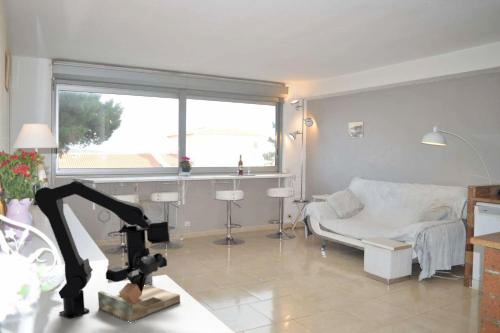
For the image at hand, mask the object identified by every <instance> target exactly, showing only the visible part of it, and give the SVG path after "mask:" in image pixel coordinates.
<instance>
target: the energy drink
mask: <svg viewBox="0 0 500 333" xmlns="http://www.w3.org/2000/svg"><path fill="white" fill-rule="evenodd" d="M149 253H150V255H152V252H151V250H150V249H149ZM150 284H151V285H152V284H153V272H152V273H151V274H149V275H148V276H147V278H146V281H145V284H144V285H150Z"/></svg>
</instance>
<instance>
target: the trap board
mask: <svg viewBox="0 0 500 333" xmlns="http://www.w3.org/2000/svg"><path fill="white" fill-rule="evenodd" d="M97 298H98V310H100V311H102V312H104V313H107V314H108V315H111V316H113V315H114V317H116V318H118V317H119V318H118V319H120V318H122V319H124V320H126V321H125V322H127V321H129V322H132V321H134V322H136V321H139V320H141V319H144V318H146V317H149V316H151V315H153V314H155V313H157V312H161V311H163V310H165V309H167V308H170V307H172V306H175V305H177V304H180V303H181V295H180V294H178V293H175V292H172V291H170V290H165V289H163V288H160V287H157V286H154V285H152V284H151V285H145V286H144V287H143V291H142V295H141V296H140V297H139V298H138V300H137V301H136V302H135V303H134V304H132V303H131V302H128V301H126V300H123V298H122V297H121V295H120V293H118V294H116V295H112V294H110V293H108V292H105V291H102V290H100V291H97ZM143 317H144V318H143ZM122 319H121V320H122ZM124 320H123V321H124ZM135 320H136V321H135ZM129 322H128V323H129ZM132 323H133V322H132Z"/></svg>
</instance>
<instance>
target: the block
mask: <svg viewBox="0 0 500 333" xmlns="http://www.w3.org/2000/svg"><path fill="white" fill-rule="evenodd" d="M118 294H120V295H121V297H122V298H123V300H126V301H128V302H131V303H132V304H134V303H135V302H136V301H137V300H138V298H139V297H140V296H141V295H142V293H141V291H140V289H139V288H138V286H137V285H136V284H131V282H127V283H126V284H125V285H124V287H123V288H121V290H120V291H119V292H118Z"/></svg>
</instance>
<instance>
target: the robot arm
mask: <svg viewBox="0 0 500 333" xmlns="http://www.w3.org/2000/svg"><path fill="white" fill-rule="evenodd" d="M73 195H76V196H79V197H81V198H83V199H84V200H87V201H89V202H91V203H93V204H96V205H98V206H99V207H102V208H104V209H106V210H108V211H110V212H112V213H113V214H114V215H116V216H117V218H119V219H120V220H122V221H123V222H125V223H124V224H123V225H122V227H121V228H120V229H119V231H118V233H119V234H123V233H125V239H126V240H125V242H126V243H125V244H126V248H124V253H126V257H127V259H126V260H127V261H125V266H127V267H120V266H115V267H112V268H109V269H107V270H106V272H105V279H106V280H109V281H111V282H114V283H119V282H121V281H125V280H128V281H129V283H131V284H136V285H137V286H138V288H139V289H140V291H141V293H142V291H143V287H144V284H145V281H146V278H147V276H148V275H149V274H151V273H152V274H153V273H154V272H155V273H156V272H158V271H159V270H158V269H159V268H164V267H167V266H168V261H167V259H166V257H165V256H163V253H161V252H158V253H155V254H151V255H150V253H149V250H150V249H149V248H150V247H147V242H149V243H151V245H156V244H157V245H158V244H167V243H170V242H171V241H170V240H171V239H170V238H171V237H170V229H169V221H168V220H161V221H154V222H152V221H151V219H150V218H148V216H147V215H146V214H145V209H144V207H143V206H142V205H140V204H138V203H135V202H131V201H127V200H122V199H119V198H118V197H114V196H112V195H110V194H108V193H105V192H104V191H102V190H100V189H98V188H96V187H93V186H91V185H90V184H88V183H85V182H84V181H83V180H81V179H77V180H74V181H72V182H70V183H66V184H63V185H60V186H55V185H46V186H43V187H41V188H39V189H37V190H36V192H35V194H34V196H33V197H34V202H35V203H36V205H37V207H38V208H39V210H40V212H41V213H43V215H45V217H46V218H47V219H48V223H49V224H50V227H51V230H52V233H53V235H54V238H55V242H56V243H57V246H58V248H59V251H60V254H61V257H62V259H63V262H64V276H65V281H66V283H64V285H63V286H62V287H61V289H60V290H59V291H58V294H59V295H58V296H59V297H60V298H61V299H62V302H63V305H62V306H63V310H60V311H59V315H60V316H63V317H64V318H66V319H69V320H70V319H72V318H75V317H78V316H80V315H81V316H82V315H83V314H86V313H89V312H90V309H89V308H87V307H85V296H84V290H83V289H84V288H85V287H87V285H88V283H89V281H90V280H91V278H92V271H93V270H94V269H93V268H92V266H91V265H90V260H89V258H85V259H83V257H81V255H80V253H79V251H78V249H77V245H76V241H75V240H74V237H73V234H72V231H71V230H70V227H69V224H68V222H67V219H66V216H65V214H64V213H65V212H64V199H65V198H68V197H70V196H73ZM146 239H147V240H146Z"/></svg>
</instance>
